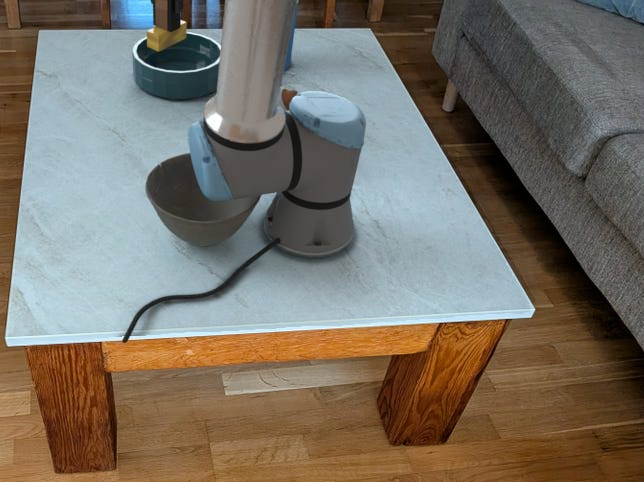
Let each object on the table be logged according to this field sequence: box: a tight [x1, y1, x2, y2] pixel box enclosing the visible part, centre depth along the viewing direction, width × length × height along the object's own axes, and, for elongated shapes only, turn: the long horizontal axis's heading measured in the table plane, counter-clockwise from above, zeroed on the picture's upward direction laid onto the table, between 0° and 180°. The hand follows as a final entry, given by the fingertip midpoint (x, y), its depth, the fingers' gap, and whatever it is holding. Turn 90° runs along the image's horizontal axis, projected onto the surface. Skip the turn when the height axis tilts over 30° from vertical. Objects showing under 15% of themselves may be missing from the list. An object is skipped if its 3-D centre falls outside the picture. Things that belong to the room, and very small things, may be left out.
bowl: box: [144, 152, 262, 247], centre depth 111 cm, size 19×19×10 cm
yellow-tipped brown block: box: [146, 0, 188, 52], centre depth 125 cm, size 8×3×10 cm, turn 141°
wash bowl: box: [131, 31, 221, 100], centre depth 148 cm, size 20×20×6 cm
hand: (166, 26), depth 127 cm, fingers closed on yellow-tipped brown block, 3 cm apart
